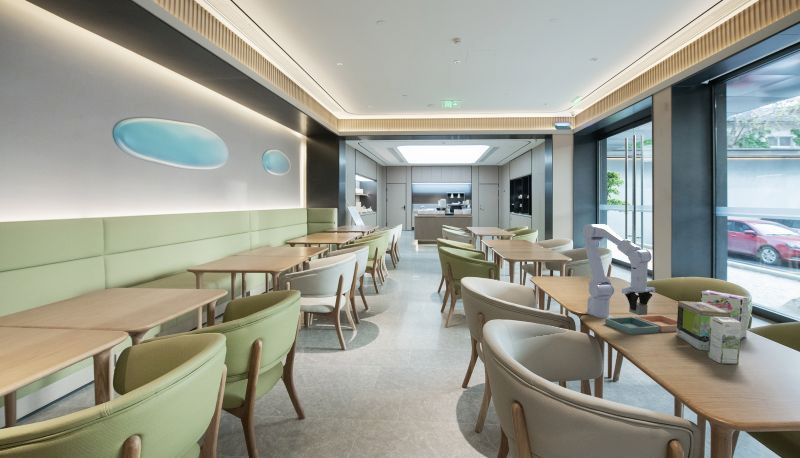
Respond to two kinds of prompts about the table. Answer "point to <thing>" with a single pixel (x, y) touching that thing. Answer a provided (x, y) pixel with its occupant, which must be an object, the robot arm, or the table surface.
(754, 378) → the table surface
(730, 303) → the candy box
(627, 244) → the robot arm
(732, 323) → the syrup box
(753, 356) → the table surface
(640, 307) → the stone block
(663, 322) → the terracotta bin
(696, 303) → the tea box
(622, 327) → the slate bin
